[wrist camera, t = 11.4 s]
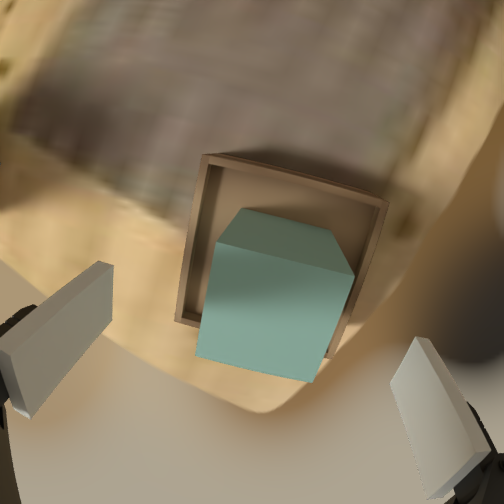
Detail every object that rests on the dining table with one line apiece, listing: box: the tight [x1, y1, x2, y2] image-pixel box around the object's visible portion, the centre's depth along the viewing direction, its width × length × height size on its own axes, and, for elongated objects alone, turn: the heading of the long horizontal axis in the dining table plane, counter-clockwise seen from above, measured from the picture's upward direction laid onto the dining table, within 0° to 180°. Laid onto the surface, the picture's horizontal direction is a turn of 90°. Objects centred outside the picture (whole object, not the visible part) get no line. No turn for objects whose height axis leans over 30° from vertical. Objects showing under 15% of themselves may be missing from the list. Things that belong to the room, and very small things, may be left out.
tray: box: [174, 153, 389, 359], centre depth 23 cm, size 12×12×5 cm
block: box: [195, 208, 355, 383], centre depth 18 cm, size 6×6×8 cm
